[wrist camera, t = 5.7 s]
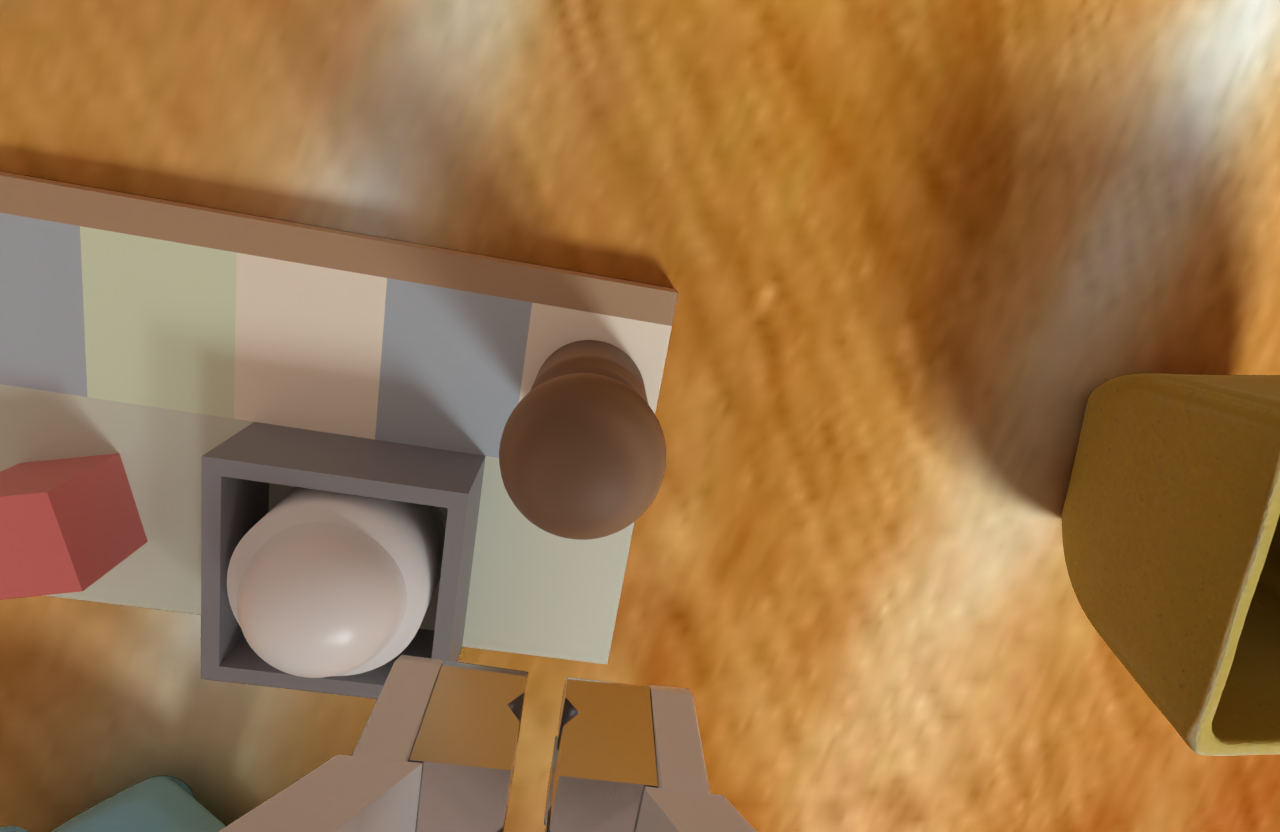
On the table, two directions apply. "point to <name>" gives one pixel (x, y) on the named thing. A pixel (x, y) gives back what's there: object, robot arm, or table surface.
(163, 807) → the teapot
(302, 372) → the board
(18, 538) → the red cube
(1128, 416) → the flower pot
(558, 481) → the pawn
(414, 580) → the dome
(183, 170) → the table surface
